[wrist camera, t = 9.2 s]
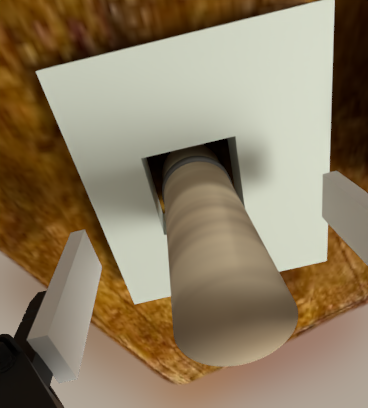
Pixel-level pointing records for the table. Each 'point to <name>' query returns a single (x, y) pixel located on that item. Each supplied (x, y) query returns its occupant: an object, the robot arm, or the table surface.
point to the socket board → (205, 131)
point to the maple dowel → (219, 267)
